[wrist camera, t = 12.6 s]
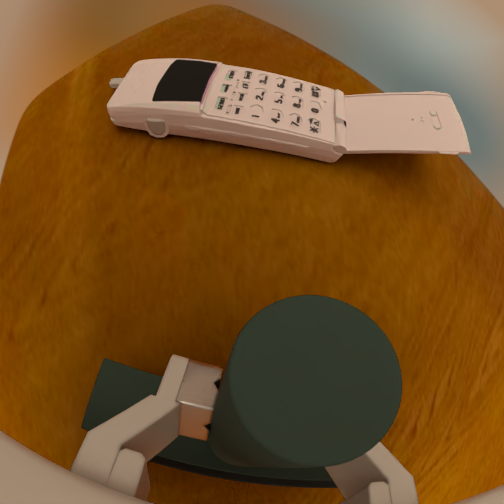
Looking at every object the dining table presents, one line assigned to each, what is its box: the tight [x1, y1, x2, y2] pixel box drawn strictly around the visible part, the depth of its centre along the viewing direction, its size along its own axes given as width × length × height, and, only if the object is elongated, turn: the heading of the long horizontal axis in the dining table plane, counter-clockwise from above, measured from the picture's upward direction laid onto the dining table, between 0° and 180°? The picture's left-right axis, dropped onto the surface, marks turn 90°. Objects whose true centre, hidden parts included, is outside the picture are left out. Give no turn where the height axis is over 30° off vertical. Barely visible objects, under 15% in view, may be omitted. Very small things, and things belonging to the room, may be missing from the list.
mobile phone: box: [107, 58, 471, 163], centre depth 17 cm, size 6×6×25 cm
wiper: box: [81, 295, 402, 488], centre depth 8 cm, size 12×4×12 cm, turn 78°
